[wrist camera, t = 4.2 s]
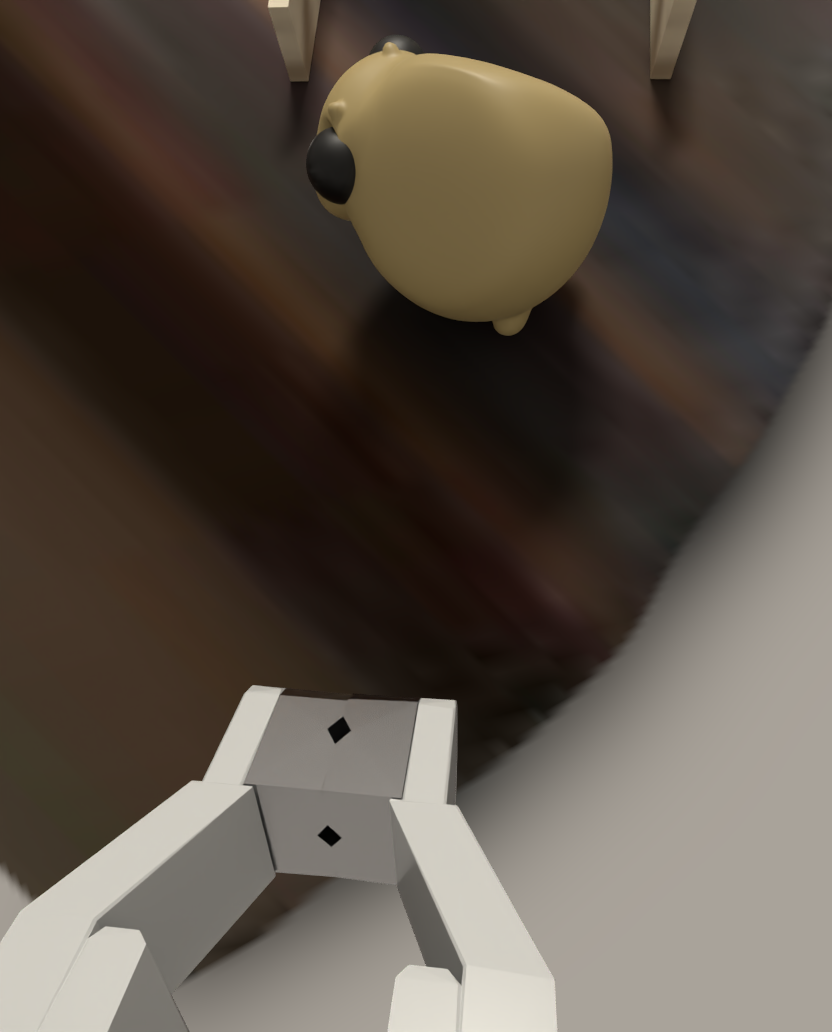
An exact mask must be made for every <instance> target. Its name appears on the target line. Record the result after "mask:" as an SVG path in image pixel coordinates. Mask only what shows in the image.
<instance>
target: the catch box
mask: <svg viewBox="0 0 832 1032" xmlns="http://www.w3.org/2000/svg"><path fill="white" fill-rule="evenodd" d="M320 1H321V0H269V4H268V9H269V13H270V16H271V19H272V23H273V26H274V29H275V32H276V36H277V39H278V42H279V45H280V49H281V52H282V55H283V59H284V62H285V65H286V68H287V72H288V75H289V78H290V81H309V74H310V67H311V61H312V54H313V48H314V41H315V34H316V28H317V21H318V15H319V8H320ZM696 1H697V0H650V79H671V76H672V73H673V70H674V67H675V64H676V61H677V58H678V55H679V52H680V49H681V46H682V43H683V40H684V37H685V34H686V31H687V28H688V25H689V22H690V19H691V16H692V13H693V10H694V7H695V4H696Z"/></svg>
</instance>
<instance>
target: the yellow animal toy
mask: <svg viewBox="0 0 832 1032" xmlns="http://www.w3.org/2000/svg"><path fill="white" fill-rule="evenodd" d="M306 168H307V174H308V177H309V180H310V182H311V184H312V186H313V187H314V189H315V190H316V192H317V195H318V198H319V200H320V202H321V203H322V205H323V206H324V207H325V209H326V210H327V211H329V212H330V213H331V214H333V215H334V216H336V217H338V218H341V219H344V220H349V221H351V222H352V224H353V226H354V228H355V230H356V232H357V234H358V236H359V238H360V240H361V242H362V244H363V246H364V249H365V251H366V252H367V254H368V256H369V258H370V259H371V261H372V262H373V264H374V265H375V267H376V268H377V269H378V271H379V272H380V273H381V274H382V276H383V277H384V278H385V279H386V280H387V281H388V282H389V283H390V284H391V285H392V286H393V287H394V288H395V289H396V290H397V291H399V292H400V293H401V294H402V295H403V296H405V297H406V298H408V299H409V300H410V301H412V302H413V303H415V304H417V305H418V306H420V307H422V308H424V309H426V310H428V311H430V312H432V313H434V314H437V315H440V316H443V317H446V318H450V319H454V320H459V321H468V322H486V321H492V322H493V325H494V328H495V330H496V331H497V332H498V333H500V334H502V335H505V336H510V335H514V334H516V333H518V332H519V331H520V330H521V329H522V328H523V327H524V325H525V323H526V321H527V319H528V317H529V314H530V312H531V309H532V308H533V307H535V306H536V305H538V304H540V303H541V302H543V301H544V300H546V299H547V298H549V297H550V296H551V295H553V294H554V293H555V292H556V291H557V290H559V289H560V288H561V287H562V286H563V285H564V284H565V283H566V282H567V281H568V280H569V279H570V278H571V276H572V275H573V274H574V273H575V272H576V270H577V269H578V268H579V266H580V265H581V264H582V262H583V261H584V259H585V258H586V256H587V254H588V253H589V251H590V249H591V247H592V245H593V243H594V241H595V239H596V237H597V234H598V232H599V230H600V227H601V224H602V221H603V218H604V215H605V212H606V208H607V204H608V199H609V194H610V187H611V179H612V147H611V139H610V135H609V132H608V129H607V127H606V125H605V123H604V121H603V120H602V118H601V117H600V116H599V115H598V114H597V112H596V111H595V110H593V109H592V108H591V107H590V106H589V105H587V104H586V103H585V102H583V101H582V100H580V99H579V98H577V97H575V96H574V95H572V94H570V93H568V92H566V91H565V90H563V89H561V88H559V87H556V86H554V85H552V84H549V83H547V82H544V81H542V80H539V79H537V78H534V77H531V76H528V75H525V74H522V73H519V72H516V71H513V70H510V69H507V68H504V67H500V66H497V65H494V64H490V63H486V62H482V61H478V60H473V59H469V58H463V57H457V56H451V55H443V54H424V52H423V50H422V49H421V47H420V46H419V45H418V44H417V43H416V42H415V41H414V40H412V39H411V38H409V37H406V36H403V35H391V36H387V37H385V38H383V39H381V40H380V41H379V42H378V43H377V44H376V45H375V46H374V47H373V49H372V50H371V52H370V54H369V56H367V57H365V58H364V59H362V60H360V61H359V62H357V63H356V64H355V65H353V66H352V67H351V68H350V69H348V70H347V71H346V72H345V73H344V74H343V75H342V76H341V78H340V79H339V80H338V81H337V83H336V84H335V86H334V87H333V89H332V90H331V92H330V94H329V96H328V98H327V100H326V102H325V104H324V107H323V110H322V113H321V117H320V121H319V126H318V132H317V136H316V137H315V138H314V140H313V141H312V143H311V145H310V147H309V150H308V153H307V159H306Z"/></svg>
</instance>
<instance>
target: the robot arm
mask: <svg viewBox="0 0 832 1032" xmlns="http://www.w3.org/2000/svg"><path fill="white" fill-rule="evenodd" d="M456 776H457V701H455V700H441V699H426V698H415V697H398V696H382V695H366V694H342V693H331V692H321V691H311V690H301V689H291V688H276V687H265V686H255V685H252V686H251V687H250V688H249V689H248V690H247V692H246V693H245V694H244V695H243V697H242V699H241V701H240V704H239V706H238V708H237V710H236V712H235V714H234V716H233V718H232V720H231V722H230V724H229V726H228V729H227V731H226V733H225V735H224V737H223V739H222V741H221V743H220V745H219V747H218V749H217V751H216V754H215V756H214V758H213V760H212V762H211V764H210V766H209V768H208V770H207V772H206V774H205V776H204V779H203V781H191V782H189V783H188V784H187V785H185V786H184V787H183V788H181V789H180V790H179V791H178V792H176V793H175V794H174V795H172V796H171V797H170V798H168V799H167V800H166V801H164V802H163V803H162V804H160V805H159V806H158V807H156V808H155V809H154V810H153V811H151V812H150V813H149V814H147V815H146V816H145V817H143V818H142V819H141V820H139V821H138V822H137V823H135V824H134V825H133V826H132V827H130V828H129V829H128V830H126V831H125V832H124V833H122V834H121V835H120V836H118V837H117V838H116V839H114V840H113V841H112V842H110V843H109V844H108V845H107V846H105V847H104V848H103V849H101V850H100V851H99V852H97V853H96V854H95V855H93V856H92V857H91V858H89V859H88V860H87V861H86V862H84V863H83V864H82V865H80V866H79V867H78V868H76V869H75V870H74V871H72V872H71V873H70V874H68V875H67V876H66V877H64V878H63V879H62V880H61V881H59V882H58V883H57V884H55V885H54V886H53V887H51V888H50V889H49V890H47V891H46V892H45V893H43V894H42V895H41V896H40V897H38V898H37V899H36V900H34V901H33V902H32V903H30V904H29V905H28V906H26V907H25V908H24V909H22V910H21V911H20V912H19V914H18V916H17V917H16V919H15V920H14V922H13V924H12V925H11V927H10V928H9V930H8V931H7V933H6V935H5V936H4V938H3V939H2V941H1V942H0V1032H189V1029H188V1027H187V1025H186V1023H185V1021H184V1019H183V1017H182V1015H181V1013H180V1011H179V1009H178V1007H177V1005H176V1003H175V1001H174V999H173V997H172V995H171V994H172V993H173V992H174V991H175V990H176V989H177V987H178V986H179V985H180V984H181V983H182V982H183V981H184V980H185V978H186V977H187V976H188V975H189V974H190V973H191V972H192V970H193V969H194V968H195V967H196V966H197V965H198V964H199V963H200V961H201V960H202V959H203V958H204V957H205V956H206V955H207V953H208V952H209V951H210V950H211V949H212V948H213V947H214V946H215V944H216V943H217V942H218V941H219V940H220V939H221V938H222V936H223V935H224V934H225V933H226V932H227V931H228V930H229V929H230V927H231V926H232V925H233V924H234V923H235V922H236V921H237V919H238V918H239V917H240V916H241V915H242V914H243V913H244V912H245V910H246V909H247V908H248V907H249V906H250V905H251V904H252V902H253V901H254V900H255V899H256V898H257V897H258V896H259V894H260V893H261V892H262V891H263V890H264V889H265V888H266V887H267V885H268V884H269V883H270V882H271V881H272V880H273V879H274V877H275V872H281V873H294V874H306V875H318V876H331V877H340V878H348V879H354V880H362V881H369V882H376V883H383V884H390V885H397V888H398V891H399V894H400V897H401V899H402V902H403V905H404V908H405V910H406V913H407V916H408V918H409V921H410V924H411V926H412V929H413V932H414V934H415V937H416V940H417V942H418V945H419V948H420V951H421V953H422V956H423V959H424V961H425V964H426V967H424V966H416V965H408V966H407V967H406V968H405V969H404V970H403V971H401V972H400V973H399V974H398V975H397V976H396V978H395V985H394V992H393V998H392V1005H391V1011H390V1018H389V1025H388V1031H387V1032H557V1020H556V999H555V980H554V978H553V976H552V975H551V973H550V971H549V969H548V967H547V965H546V964H545V962H544V960H543V958H542V957H541V955H540V953H539V951H538V949H537V948H536V946H535V944H534V942H533V940H532V939H531V937H530V935H529V933H528V931H527V930H526V928H525V926H524V924H523V922H522V921H521V919H520V917H519V915H518V914H517V912H516V910H515V908H514V906H513V905H512V903H511V901H510V899H509V897H508V895H507V894H506V892H505V890H504V889H503V886H502V885H501V883H500V881H499V879H498V878H497V876H496V874H495V872H494V870H493V868H492V867H491V865H490V863H489V861H488V860H487V858H486V856H485V854H484V852H483V851H482V849H481V847H480V845H479V843H478V842H477V840H476V838H475V836H474V834H473V833H472V831H471V829H470V827H469V825H468V824H467V822H466V820H465V818H464V817H463V815H462V813H461V811H460V809H459V808H458V806H457V805H455V799H456Z"/></svg>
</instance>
